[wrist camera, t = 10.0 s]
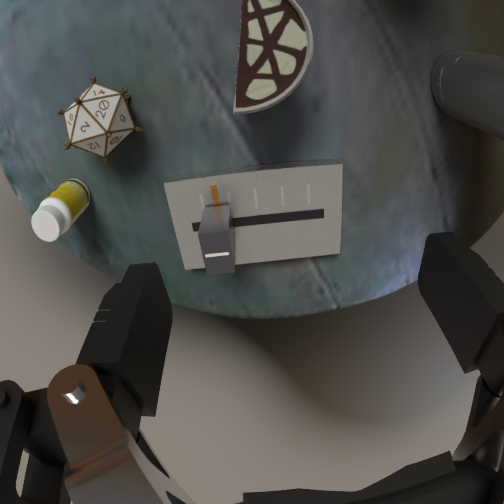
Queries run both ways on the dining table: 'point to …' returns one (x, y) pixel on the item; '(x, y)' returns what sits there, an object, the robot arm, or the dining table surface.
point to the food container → (271, 53)
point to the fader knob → (217, 240)
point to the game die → (98, 120)
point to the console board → (262, 209)
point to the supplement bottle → (60, 209)
